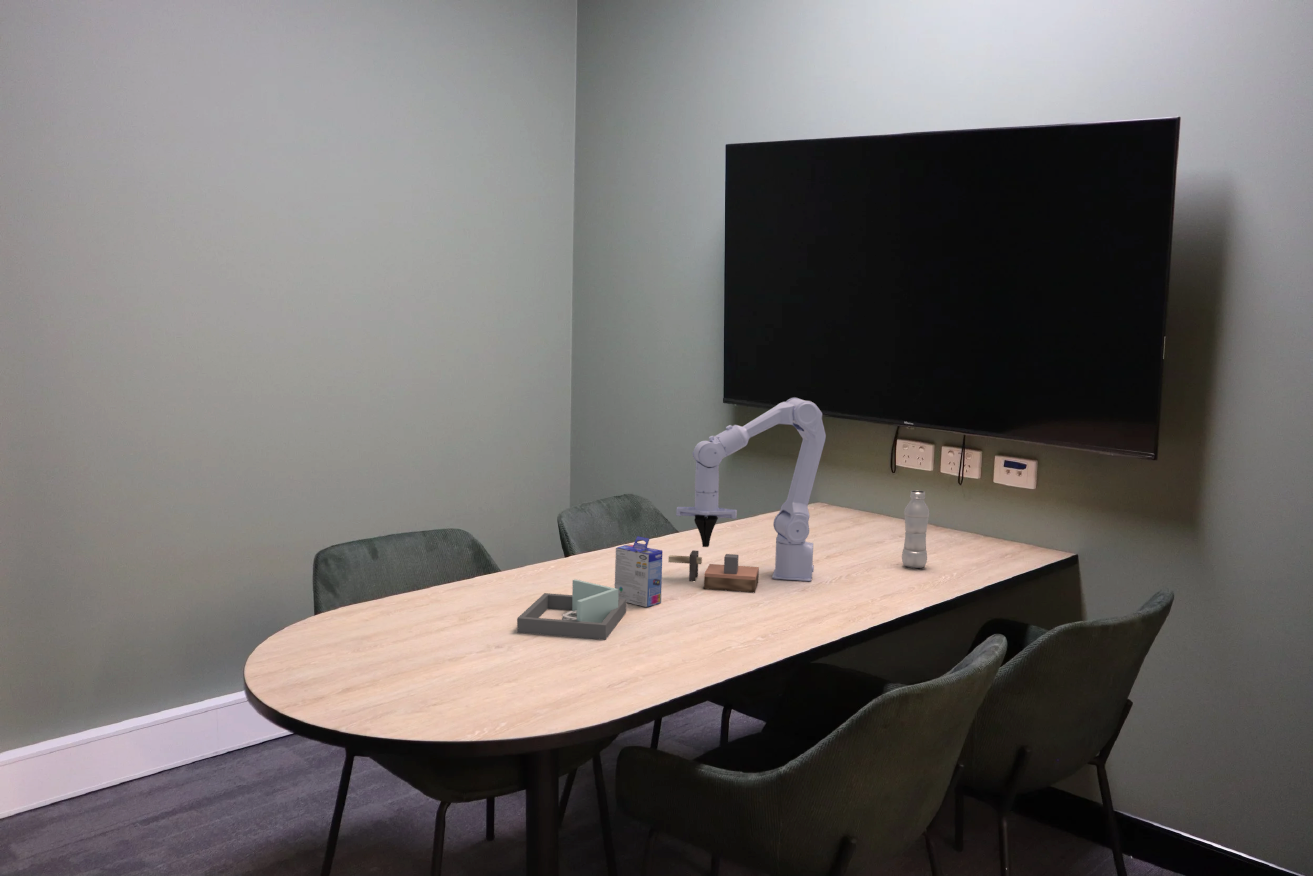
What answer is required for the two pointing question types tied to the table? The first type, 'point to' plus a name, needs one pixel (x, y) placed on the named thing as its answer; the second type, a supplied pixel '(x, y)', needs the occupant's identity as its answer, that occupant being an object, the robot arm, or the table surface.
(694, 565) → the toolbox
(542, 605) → the dark gray square frame
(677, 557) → the tan rectangular bar
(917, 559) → the plastic bottle
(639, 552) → the ink cartridge box
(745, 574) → the lid
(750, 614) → the table surface
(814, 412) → the robot arm
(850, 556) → the table surface
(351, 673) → the table surface
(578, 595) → the l-shaped corner panel
